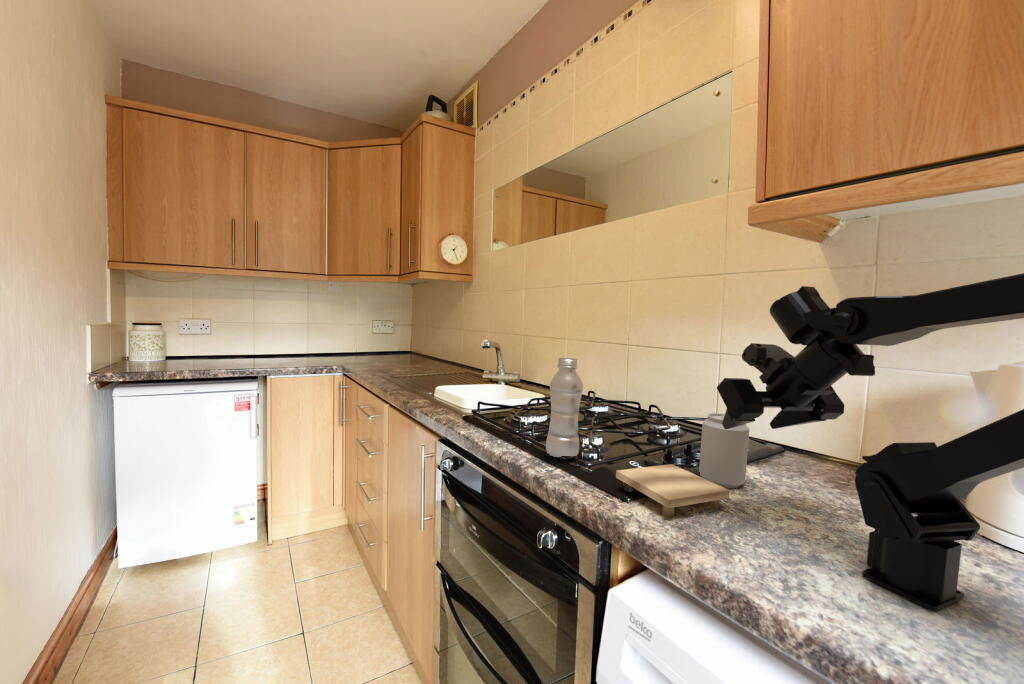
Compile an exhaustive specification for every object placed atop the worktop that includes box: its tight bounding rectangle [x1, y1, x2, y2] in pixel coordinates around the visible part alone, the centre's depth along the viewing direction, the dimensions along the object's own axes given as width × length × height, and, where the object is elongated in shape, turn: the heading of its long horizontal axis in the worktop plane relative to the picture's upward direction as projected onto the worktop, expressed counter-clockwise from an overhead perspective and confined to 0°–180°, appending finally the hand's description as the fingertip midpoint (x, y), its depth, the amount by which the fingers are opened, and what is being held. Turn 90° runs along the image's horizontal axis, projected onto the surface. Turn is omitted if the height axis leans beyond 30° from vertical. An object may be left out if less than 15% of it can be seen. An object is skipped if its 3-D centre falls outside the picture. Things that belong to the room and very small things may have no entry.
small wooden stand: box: [615, 463, 731, 518], centre depth 68 cm, size 12×12×3 cm
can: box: [698, 412, 750, 489], centre depth 77 cm, size 8×8×12 cm
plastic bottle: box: [545, 357, 584, 457], centre depth 85 cm, size 6×7×20 cm
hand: (748, 426), depth 71 cm, fingers open, 9 cm apart
